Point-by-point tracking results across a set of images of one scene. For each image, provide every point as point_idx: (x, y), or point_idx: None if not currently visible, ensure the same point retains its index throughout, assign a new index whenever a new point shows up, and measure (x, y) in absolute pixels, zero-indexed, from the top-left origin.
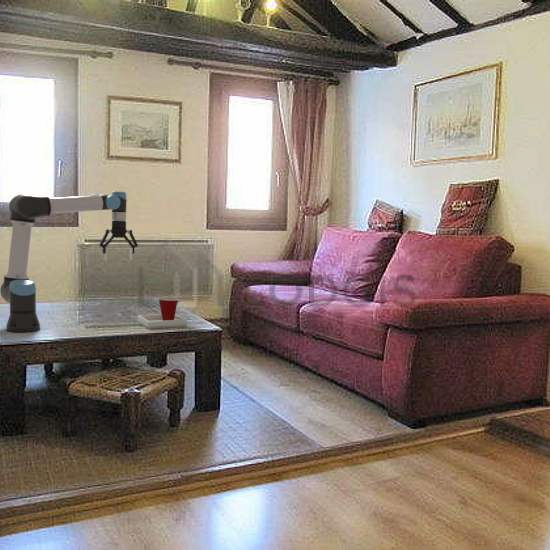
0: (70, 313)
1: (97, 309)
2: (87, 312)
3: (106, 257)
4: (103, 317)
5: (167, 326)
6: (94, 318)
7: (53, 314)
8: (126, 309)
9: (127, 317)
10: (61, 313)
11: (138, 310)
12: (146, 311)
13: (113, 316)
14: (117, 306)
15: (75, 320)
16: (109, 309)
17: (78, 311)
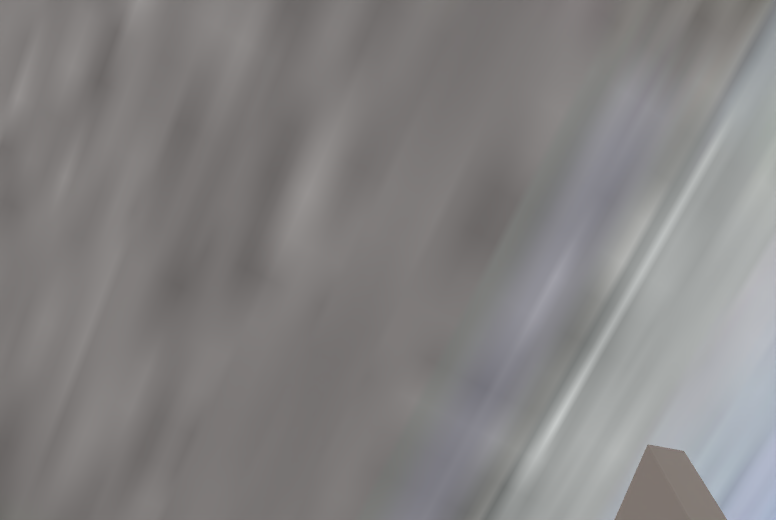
0: (622, 408)
1: (374, 467)
2: (496, 390)
3: (692, 495)
4: (493, 125)
5: None
6: (579, 119)
7: (740, 424)
8: (166, 374)
9: (307, 13)
10: (674, 435)
11: (86, 289)
12: (33, 212)
13: (397, 127)
14: (184, 514)
15: (753, 112)
16: (291, 430)
17: (533, 454)
